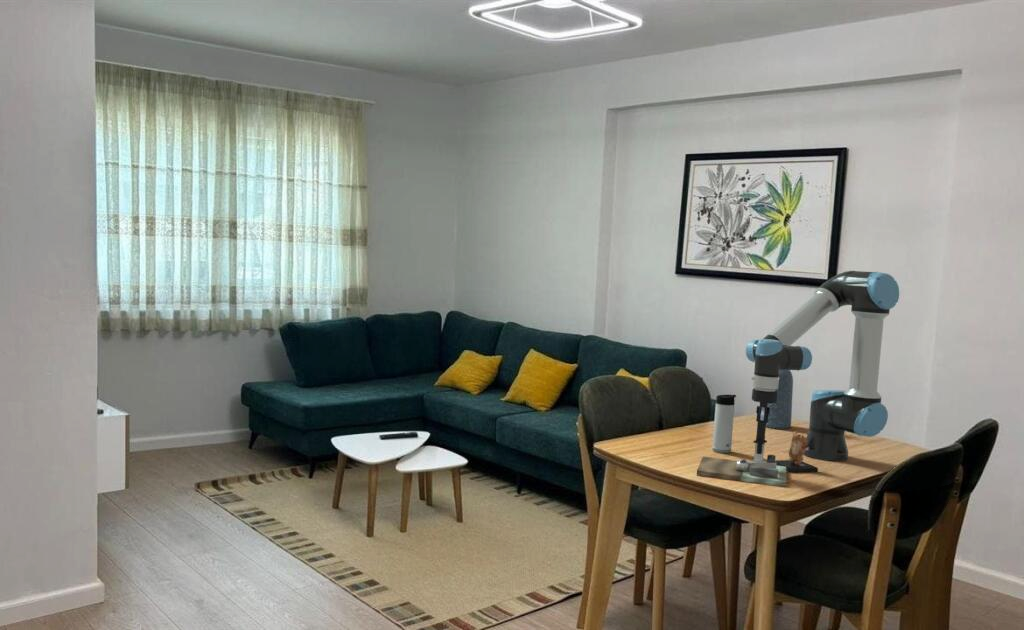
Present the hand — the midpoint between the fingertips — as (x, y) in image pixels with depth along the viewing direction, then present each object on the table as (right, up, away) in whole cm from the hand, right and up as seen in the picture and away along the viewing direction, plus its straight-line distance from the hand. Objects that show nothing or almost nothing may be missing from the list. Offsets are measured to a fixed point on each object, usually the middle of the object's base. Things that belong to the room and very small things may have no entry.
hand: (758, 463), depth 265 cm
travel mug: (-4, -1, +28) cm, 28 cm away
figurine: (+14, -4, +9) cm, 17 cm away
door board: (-5, -3, -1) cm, 6 cm away
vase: (+30, +1, +79) cm, 84 cm away
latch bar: (-2, -1, -3) cm, 4 cm away
